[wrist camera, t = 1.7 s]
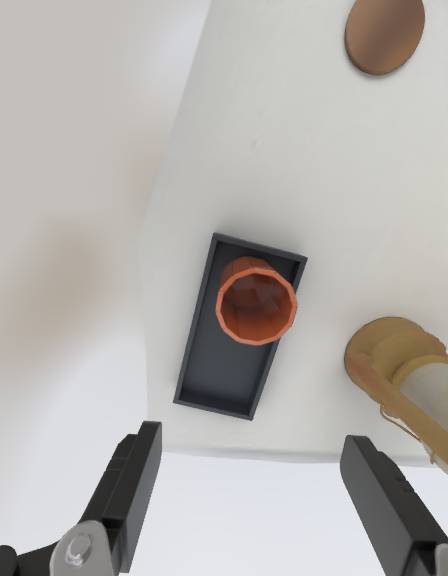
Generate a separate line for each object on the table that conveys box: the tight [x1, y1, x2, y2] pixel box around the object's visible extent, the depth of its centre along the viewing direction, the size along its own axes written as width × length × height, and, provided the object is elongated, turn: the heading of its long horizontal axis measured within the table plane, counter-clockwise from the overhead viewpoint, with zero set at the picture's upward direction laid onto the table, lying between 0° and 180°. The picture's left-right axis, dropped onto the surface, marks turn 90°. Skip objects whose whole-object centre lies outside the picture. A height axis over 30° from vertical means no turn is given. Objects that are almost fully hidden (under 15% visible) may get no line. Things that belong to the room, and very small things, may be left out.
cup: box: [215, 255, 297, 345], centre depth 24 cm, size 6×6×9 cm
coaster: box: [345, 0, 425, 75], centre depth 22 cm, size 7×7×1 cm
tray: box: [173, 233, 308, 421], centre depth 29 cm, size 21×10×3 cm, turn 166°
